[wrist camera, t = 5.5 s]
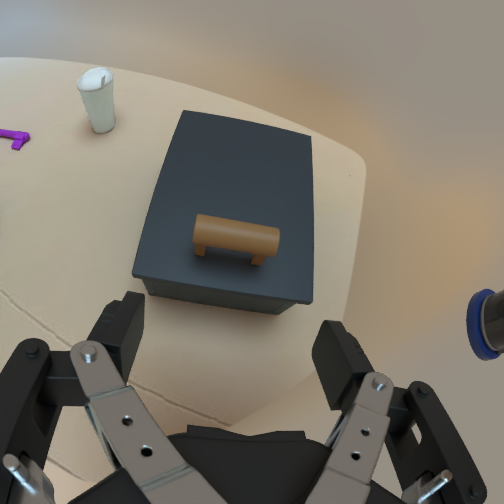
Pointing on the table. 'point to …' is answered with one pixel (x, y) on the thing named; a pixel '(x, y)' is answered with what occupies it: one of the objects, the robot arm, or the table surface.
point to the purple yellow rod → (15, 137)
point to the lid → (232, 211)
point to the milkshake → (98, 98)
